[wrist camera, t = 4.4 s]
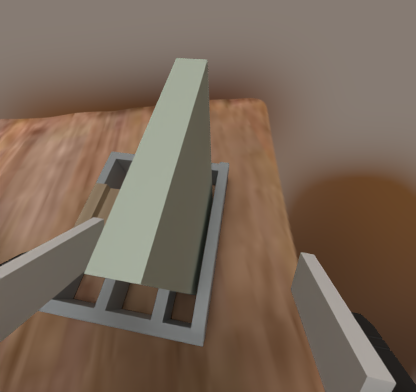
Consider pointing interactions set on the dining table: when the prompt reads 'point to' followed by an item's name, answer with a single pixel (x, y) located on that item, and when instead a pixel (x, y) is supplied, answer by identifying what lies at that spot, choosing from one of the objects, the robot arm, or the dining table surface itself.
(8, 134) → the dining table surface
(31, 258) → the robot arm
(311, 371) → the dining table surface
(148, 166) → the sage hardboard sheet
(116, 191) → the pine offcut stack
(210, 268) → the offcut rack
